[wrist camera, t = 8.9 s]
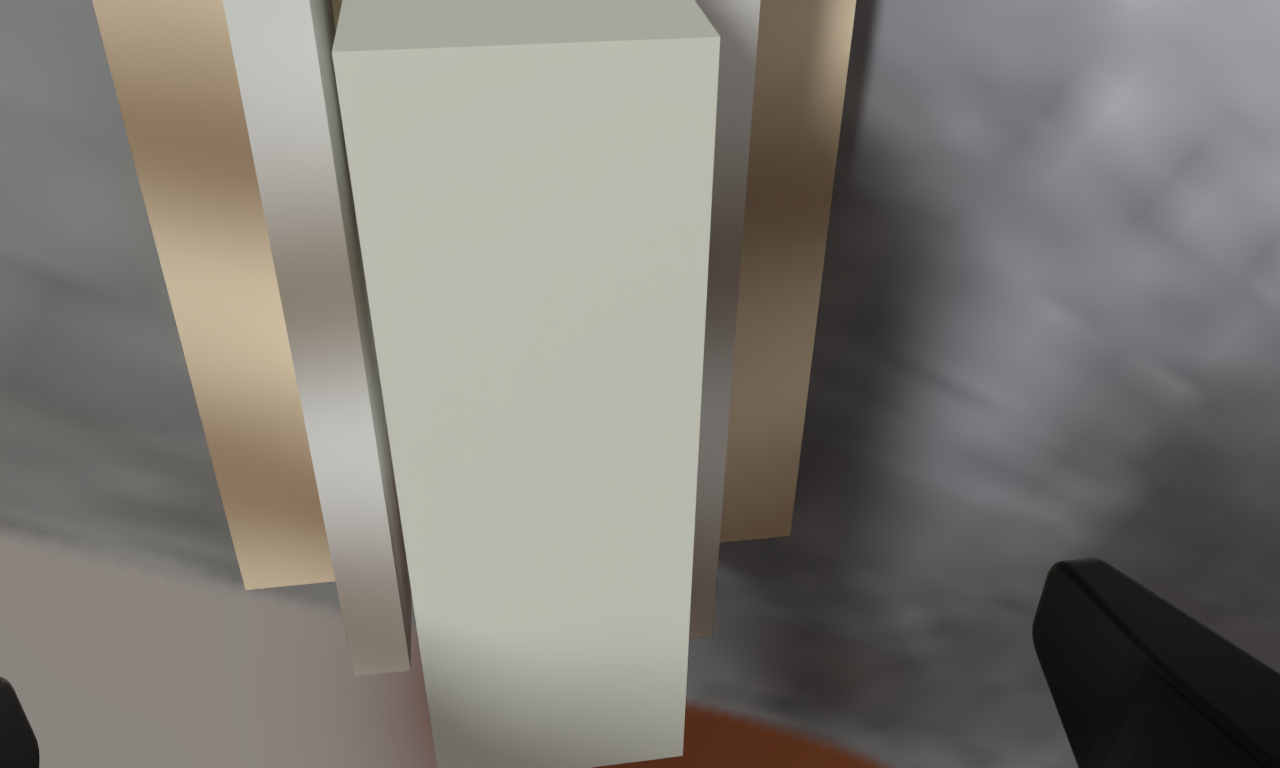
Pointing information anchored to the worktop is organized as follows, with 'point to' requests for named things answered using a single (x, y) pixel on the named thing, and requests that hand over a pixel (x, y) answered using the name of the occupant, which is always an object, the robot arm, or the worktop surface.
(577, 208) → the door panel
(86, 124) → the worktop surface
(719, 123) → the track base
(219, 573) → the worktop surface
